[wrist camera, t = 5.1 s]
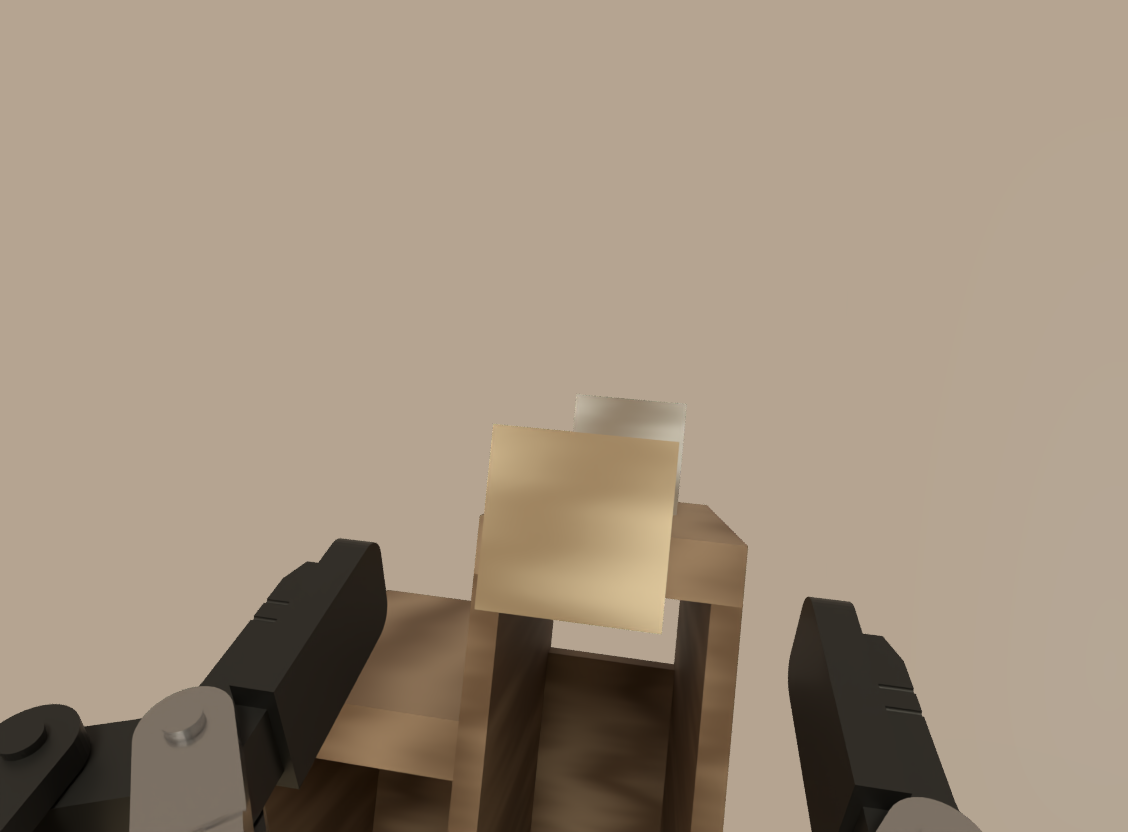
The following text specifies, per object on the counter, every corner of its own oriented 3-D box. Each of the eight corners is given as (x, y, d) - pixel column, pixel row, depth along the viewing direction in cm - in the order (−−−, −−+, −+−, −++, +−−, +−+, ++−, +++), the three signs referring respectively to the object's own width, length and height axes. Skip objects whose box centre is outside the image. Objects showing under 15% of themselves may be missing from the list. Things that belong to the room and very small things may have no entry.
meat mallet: (671, 502, 37) (679, 412, 37) (726, 642, 10) (756, 320, 11) (581, 493, 38) (590, 404, 38) (415, 601, 11) (447, 298, 11)
